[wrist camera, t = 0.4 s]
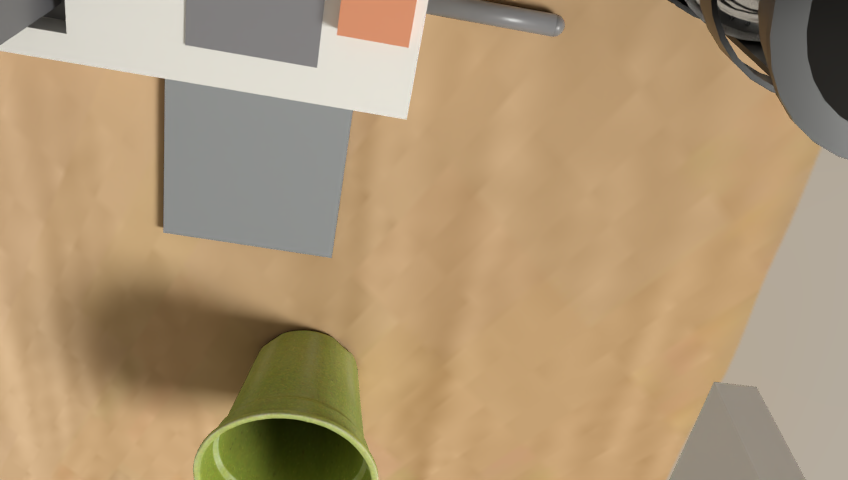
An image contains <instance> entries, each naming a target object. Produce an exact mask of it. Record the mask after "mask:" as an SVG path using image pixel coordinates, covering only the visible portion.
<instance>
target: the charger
mask: <svg viewBox="0 0 848 480" xmlns="http://www.w3.org/2000/svg"><path fill="white" fill-rule="evenodd" d="M60 4H61V0H0V45H1V44H3V43H4V42H6V41H7V40H9V39H10V38H12V37H13V36H15V35H16V34H18V33H19V32H20V31H22V30H23V29H25V28H26V27H28V26H29V25H31V24H32V23H34V22H35V21H36V20H38V19H39V18H41V17H42V16H44V15H45V14H47V13H48V12H50V11H51V10H53V9H54V8H55V7H57V6H58V5H60Z"/></svg>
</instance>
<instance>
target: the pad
mask: <svg viewBox="0 0 848 480" xmlns="http://www.w3.org/2000/svg"><path fill="white" fill-rule="evenodd" d="M352 112H353V110H348V109H342V108H336V107H330V106H324V105H318V104H312V103H306V102H300V101H294V100H289V99H283V98H277V97H271V96H265V95H259V94H253V93H247V92H241V91H235V90H229V89H224V88H218V87H212V86H206V85H200V84H194V83H188V82H182V81H176V80H170V79H165V123H164V229H163V233H170V234H177V235H183V236H190V237H196V238H203V239H210V240H216V241H223V242H230V243H236V244H243V245H250V246H256V247H263V248H269V249H276V250H283V251H289V252H296V253H303V254H309V255H316V256H322V257H329V258H332V252H333V245H334V238H335V231H336V224H337V217H338V210H339V203H340V196H341V189H342V182H343V175H344V168H345V161H346V154H347V147H348V140H349V133H350V126H351V119H352Z"/></svg>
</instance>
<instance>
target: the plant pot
mask: <svg viewBox="0 0 848 480" xmlns="http://www.w3.org/2000/svg"><path fill="white" fill-rule="evenodd" d="M193 474H194V480H379V479H378V471H377V467H376V464H375V461H374V459H373V457H372V455H371V453H370V452H369V449H368V446H367V443H366V441H365V439H364V434H363V425H362V415H361V405H360V394H359V381H358V370H357V365H356V362H355V359H354V357H353V355H352V354H351V353H350V352H348V351H347V350H346V349H345V348H343V347H342V346H341V345H340V344H339V343H338V342H337V341H336V340H335V339H334V338H332V337H331V336H328V335H326V334H323V333H319V332H314V331H291V332H286V333H283V334H281V335H279V336H278V337H276V338H275V339H274V340H272V341H270V342H269V343H268V344H266V345H265V346H264V347H262V349H261V350H260V352H259V354H258V356H257V358H256V360H255V362H254V364H253V366H252V368H251V370H250V372H249V374H248V376H247V378H246V380H245V382H244V384H243V386H242V388H241V390H240V392H239V394H238V396H237V398H236V400H235V402H234V404H233V406H232V408H231V410H230V412H229V414H228V416H227V417H226V418H225V419H224V420H223V421H222V422H221V423H220V425H219V426H218V427H217V428H216V429H215V430H213V431H212V432H211V433H210V434H209V435H208V436H207V437H206V438H205V439H204V441H203V442H202V444H201V445H200V447H199V449H198V451H197V454H196V456H195V460H194V465H193Z"/></svg>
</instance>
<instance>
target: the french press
mask: <svg viewBox="0 0 848 480" xmlns="http://www.w3.org/2000/svg"><path fill="white" fill-rule="evenodd" d="M668 1H670V2H671V3H674V4H675V5H676V6H677V7H679V8H681V9H682V10H684V11H685V12H687V13H689V14H690V15H692V16H694V17H696V18H699V19H701V20H702V21H703V22H704V23H706V25H707V28H708V30H709V31H710V33H711V35H712V36H713V38H714V40H715V41H716V43H717V45H718V46H719V48H720V49H721V50H722V51H723V52H724V53H725V54H726V55H727V56H728V57H729V58H730V59H731V60H732V61H733V62H734V63H735V64H736V65H737V66H738V67H739V68H740V69H741V70H742V71H743V72H744V73H745V74H746V75H747V76H748V77H749V78H750V79H751V80H753V81H754V82H756V83H758V84H759V85H761V86H763V87H764V88H766V89H768V90H769V91H771V92H774V93H776V95H777V97H778V98H779V100H780V102H781V104H782V105H783V107H784V109H785V110H786V112H787V114H788V115H789V117H790V119H791V120H792V121H793V122H794V123H795V124H796V125H797V126H798V127H799V128H800V129H801V130H802V131H803V132H804V133H805V134H806V135H807V136H808V137H809V138H810V139H811V140H812V141H813V142H815V143H816V144H818V145H820V146H821V147H823V148H825V149H826V150H828V151H830V152H831V153H833V154H835V155H837V156H838V157H842V158H845V159H848V0H668ZM725 35H726V36H727V37H728V38H729V39H730V40H731V41H732V42H733V43H734V44H735V45H737V46H738V47H739V48H740V49H741V50H742V51H743V52H744V53H745V54H746V55H747V56H748V57H749V58H751V59H752V60H753V61H754V62H755V63H756V64H757V65H758V66H759V67H760V68H761V69H762V70H763V71H765V72H766V73H767V74H768V75H769V76H768V75H765V74H762V73H759V72H758V71H756V70H754V69H753V68H751V67H749V66H748V65H746V64H744V63H743V62H742V61H741V60H740V59H739V58H738V57H737V55H736V54H735V52H734V50H733V49H732V47H731V45H730V44H729V42H728V40H727V39H726V36H725Z"/></svg>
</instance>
